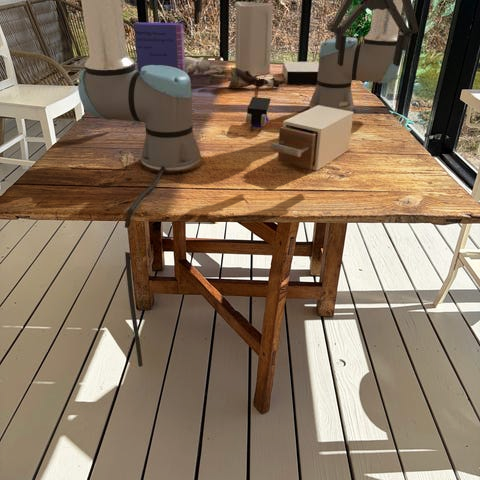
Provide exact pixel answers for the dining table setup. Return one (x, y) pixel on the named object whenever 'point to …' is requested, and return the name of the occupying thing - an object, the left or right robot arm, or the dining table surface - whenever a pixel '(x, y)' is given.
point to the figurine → (246, 79)
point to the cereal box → (159, 44)
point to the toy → (199, 65)
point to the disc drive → (300, 72)
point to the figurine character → (257, 112)
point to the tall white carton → (253, 37)
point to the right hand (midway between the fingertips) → (368, 64)
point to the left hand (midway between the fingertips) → (176, 22)
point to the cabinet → (325, 131)
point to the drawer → (296, 146)
